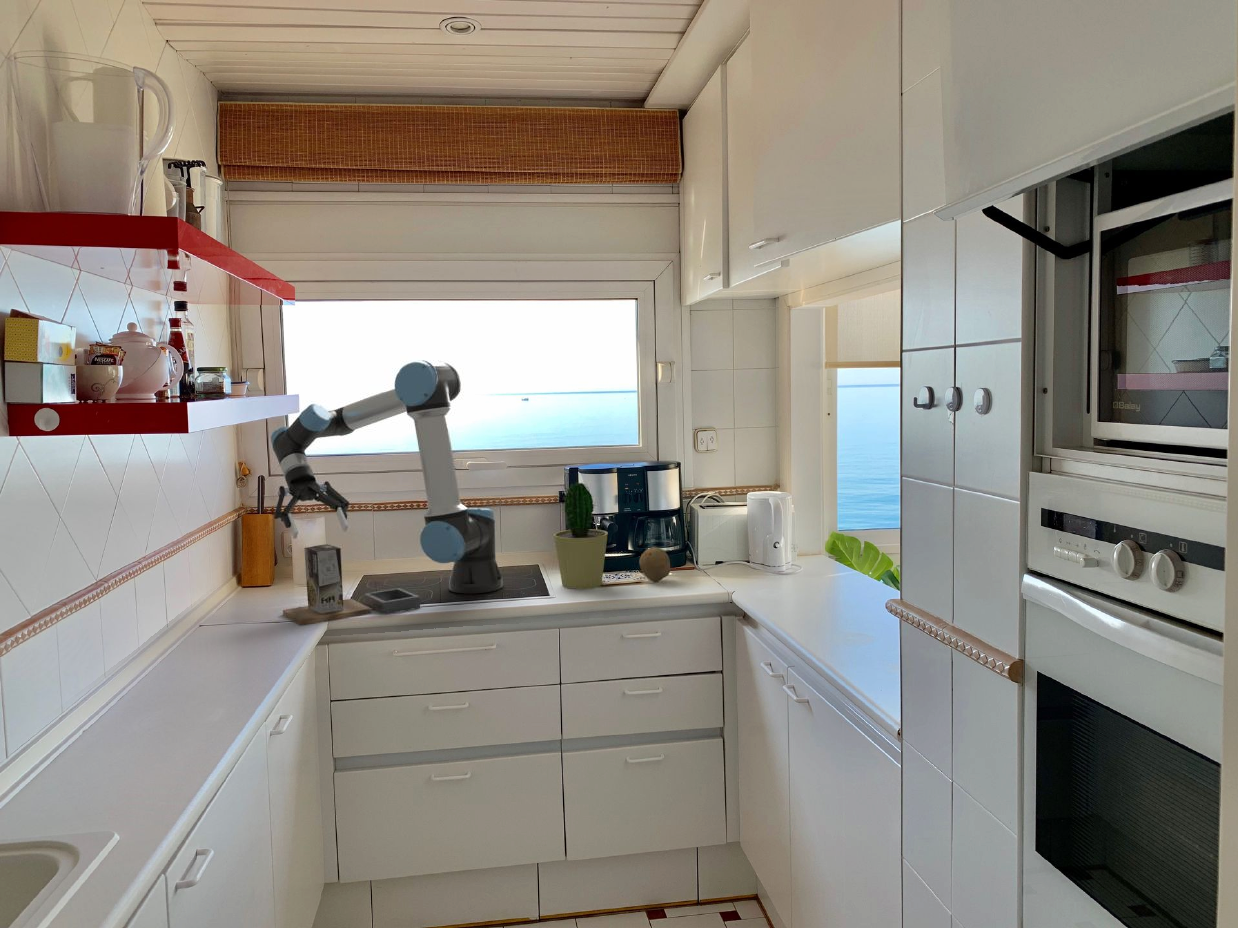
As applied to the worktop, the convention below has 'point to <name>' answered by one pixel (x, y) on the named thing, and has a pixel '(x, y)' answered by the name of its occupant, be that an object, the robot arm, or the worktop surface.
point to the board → (309, 616)
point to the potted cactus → (580, 542)
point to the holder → (391, 600)
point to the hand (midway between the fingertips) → (321, 532)
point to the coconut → (655, 564)
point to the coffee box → (324, 578)
